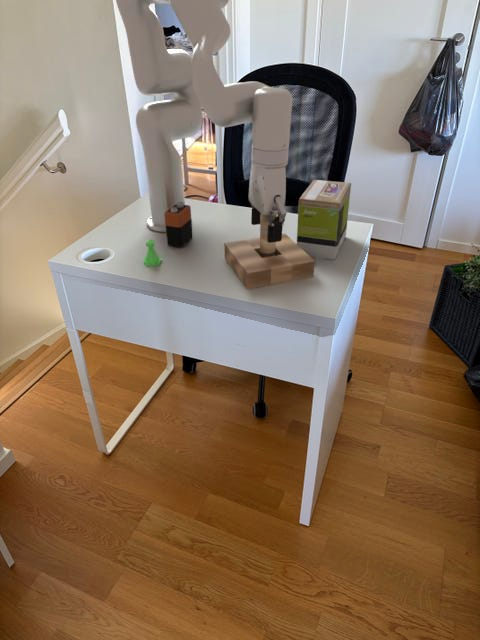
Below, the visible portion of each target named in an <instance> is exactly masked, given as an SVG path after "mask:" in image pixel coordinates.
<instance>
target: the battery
mask: <svg viewBox="0 0 480 640" xmlns="http://www.w3.org/2000/svg"><path fill="white" fill-rule="evenodd" d="M191 209H192V208H191V205H189V204H188V205H187V204H185V205H184V202H177V203H176V204H175V205H174V206H173V207H171V208H170V209H169V210H167V211H166V212H165V213H164V215H165V225H166V232H165V233H166V241H167V243H166V244H167V246H169V247H173V248H175V247H176V248H181V249H182V248H183V247H185V246H186V244H187V243H189V242H190V241H191V240H192V239H193V225H192V223H193V221H192V222H191V219H192V211H191Z"/></svg>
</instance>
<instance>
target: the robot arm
mask: <svg viewBox="0 0 480 640" xmlns="http://www.w3.org/2000/svg"><path fill="white" fill-rule="evenodd" d="M115 2H116V5H117V9H118V11H119V14H120V16H121V20H122V22H123V26H124V28H125V33H126V38H127V44H128V50H129V55H130V56H129V57H130V61H131V66H132V73H133V77H134V81H135V85H136V88H137V89H138V91H139V92H140V93H141V94H143V95H144V96H147V97H148V96H149V97H152V96H153V97H155V96H163V95H170V94H172V97H173V99H167V100H160V101H153V102H149V103H146V104H144V105H143V106H141V107H140V108H139V109H138V111H137V113H136V116H135V125H136V129H137V133H138V135H139V138H140V142H141V146H142V150H143V157H144V166H145V172H146V179H147V181H146V182H147V187H148V196H149V204H150V205H149V206H150V213H151V216H149V217H148V218H147V220H146V226H147V227H148V229H150V230H152V231H154V232H160V233H166V225H165V215H164V213H165V212H166V211H167V210H169V209H170V208H171V207H173V206H174V205H175V204H176V203H177V202H184V205H186V200H185V198H186V197H185V187H184V186H185V185H184V174H183V163H182V157H181V154H180V152H179V151H178V149H177V148H176V147H175V145H174V144H173V142H175V141H177V140H183V139H187V138H191V137H194V136H196V135H197V134H199V132H200V131H201V129H202V126H203V111H204V113H205V115H206V116H207V118H208V119H209V120H210V121H211V122H212V124H214V125H216V126H218V127H220V128H229V127H234V126H238V125H242V124H248V123H249V124H250V123H252V126H251V127H252V128H251V132H252V133H251V158H250V159H251V167H250V174H249V185H248V186H249V187H248V202H249V203H250V205H251V215H250V216H251V217H250V218H251V225H252V226H256V225H260V214H263V215H266V214H268V218H269V223H270V225H268V235H267V241H268V243H272V242H279V241H281V240H282V234H283V226H284V224H285V221H286V217H287V213H288V212H287V209H286V206H285V205H286V194H287V193H286V192H287V191H286V190H287V189H286V187H287V184H286V183H287V178H286V177H287V173H286V166H287V165H288V163H289V150H290V148H289V147H290V136H291V123H292V108H293V95H292V93H291V92H290V90H288V89H286V88H283V87H282V88H281V87H273V86H270V85H267V84H265V83H263V82H259V81H254V80H253V81H245V82H236V83H228V84H224V83H223V81H222V79H221V78H220V76H219V74H218V72H217V70H216V67H215V65H214V64H215V63H214V58H213V56H214V55H215V54H217V53H218V52H219V51H220V50H221V49H222V48H223V47H224V46H225V45H226V44H227V42H228V41H229V38H230V36H231V26H230V24H229V21H228V20H227V18H226V16H225V14H224V11H223V9H224V8H225V7H226V5H228V3H229V2H230V0H115ZM152 4H155V5H156V4H159V5H160V4H161V5H165V4H166V5H167V4H168V5H170V6H171V8H172V10H173V12H174V14H175V16H176V18H177V20H178V22H179V24H180V26H181V27H182V29H183V31H184V33H185V35H186V37H187V40H188V42H189V43H190V45H191V48H192V50H193V51H192V56H191V55H190V54H189V53H188V52H187V51H185V50H184V49H179V48H171V49H167V45H166V41H165V33H164V28H163V25H162V23H161V21H160V19H159V17H158V16H157V14H156V13H155V11H154V10H153V9H152V8H151V7H150V6H151V5H152ZM202 109H203V110H202ZM276 214H277V217H275V219H274V220H273V216H272V215H276ZM191 222H192V223H193V221H192V218H191Z"/></svg>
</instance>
